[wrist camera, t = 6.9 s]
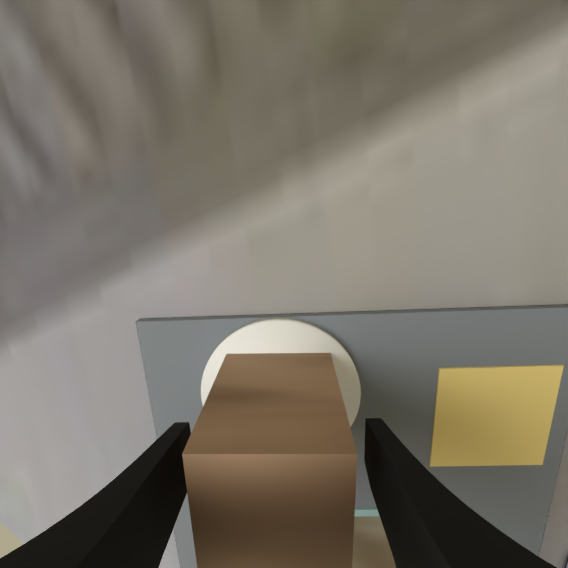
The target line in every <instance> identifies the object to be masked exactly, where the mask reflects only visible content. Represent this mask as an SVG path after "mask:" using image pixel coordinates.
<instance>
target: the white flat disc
mask: <svg viewBox="0 0 568 568" xmlns="http://www.w3.org/2000/svg"><path fill="white" fill-rule="evenodd" d="M250 353H331V357H332V361H333V364H334V368H335V372H336V376H337V379H338V383H339V387H340V391H341V394H342V398H343V402H344V406H345V409H346V413H347V417H348V421H349V424H350V427H351V426H352V424H353V422H354V420H355V418H356V415H357V413H358V409H359V405H360V398H361V388H360V381H359V376H358V373H357V371H356V368H355V365H354V363H353V360H352V359H351V357H350V355H349V353H348V352H347V350H346V349H345V348H344V346H343V345H342V344H341V343H340V342H339V341H338V340H337V339H336V338H335V337H334V336H333V335H331V334H330V333H329V332H327V331H326V330H324V329H322V328H321V327H319V326H317V325H315V324H312V323H310V322H307V321H303V320H300V319H295V318H288V317H273V318H265V319H260V320H256V321H253V322H250V323H247V324H245V325H243V326H241V327H239V328H237V329H236V330H234V331H233V332H231V333H230V334H229V335H228V336H226V337H225V338H224V339H223V340H222V341H221V342H220V343H219V345H218V346H217V347H216V348H215V350H214V352H213V353H212V355H211V357H210V359H209V360H208V362H207V365H206V367H205V370H204V372H203V377H202V381H201V399H202V404H203V406H204V403H205V401H206V399H207V397H208V394H209V392H210V390H211V387H212V385H213V383H214V381H215V378H216V376H217V374H218V372H219V369H220V367H221V365H222V363H223V360H224V358H225V356H226V354H250Z"/></svg>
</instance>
